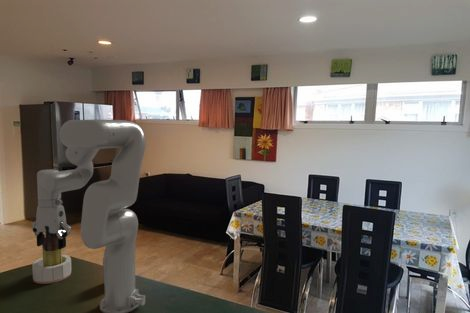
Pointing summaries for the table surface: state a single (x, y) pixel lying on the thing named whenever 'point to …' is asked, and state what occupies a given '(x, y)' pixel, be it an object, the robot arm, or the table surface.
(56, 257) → the sauce bottle
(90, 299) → the table surface
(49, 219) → the robot arm
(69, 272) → the bottle holder
